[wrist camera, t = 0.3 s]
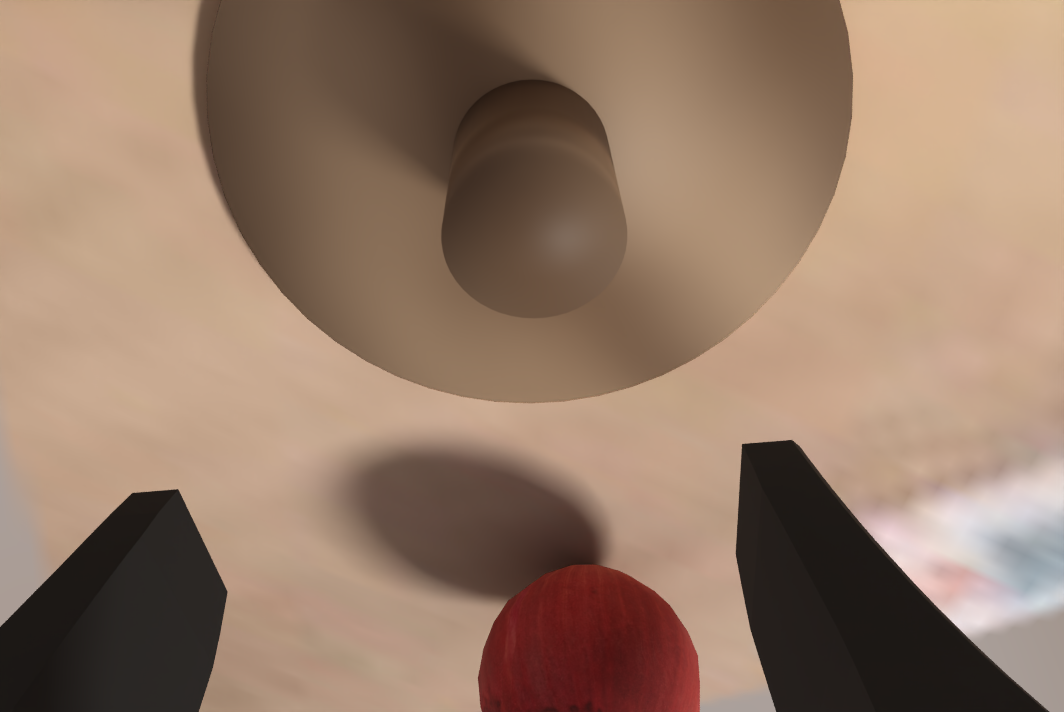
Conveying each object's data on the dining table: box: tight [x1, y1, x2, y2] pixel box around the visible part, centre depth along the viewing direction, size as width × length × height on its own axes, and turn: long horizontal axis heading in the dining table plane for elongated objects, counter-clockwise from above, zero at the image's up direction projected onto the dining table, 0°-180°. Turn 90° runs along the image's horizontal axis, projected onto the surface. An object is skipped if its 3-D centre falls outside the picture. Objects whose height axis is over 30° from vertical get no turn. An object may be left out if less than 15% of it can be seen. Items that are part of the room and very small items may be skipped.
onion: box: [478, 565, 700, 712], centre depth 23 cm, size 6×6×8 cm
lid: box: [207, 0, 853, 403], centre depth 17 cm, size 13×13×4 cm
